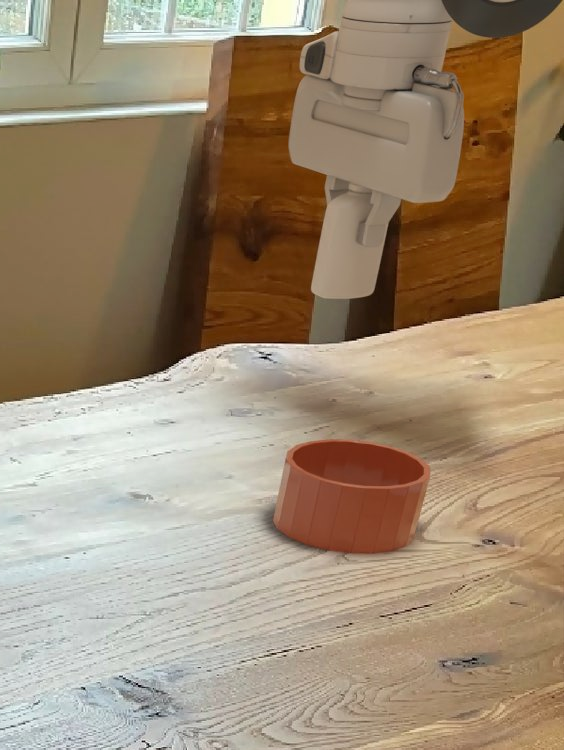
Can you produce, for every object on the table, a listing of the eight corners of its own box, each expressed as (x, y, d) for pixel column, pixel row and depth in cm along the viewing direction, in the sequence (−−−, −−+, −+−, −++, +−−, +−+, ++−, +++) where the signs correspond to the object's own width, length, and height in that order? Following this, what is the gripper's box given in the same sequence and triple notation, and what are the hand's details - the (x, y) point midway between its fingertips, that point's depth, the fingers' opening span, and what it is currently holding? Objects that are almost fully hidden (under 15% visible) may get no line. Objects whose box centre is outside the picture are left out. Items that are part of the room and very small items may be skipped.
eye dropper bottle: (310, 286, 137) (337, 140, 129) (372, 290, 136) (404, 143, 128) (309, 298, 133) (337, 149, 126) (373, 302, 132) (405, 152, 125)
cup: (357, 513, 121) (376, 433, 117) (436, 563, 113) (460, 480, 109) (244, 527, 118) (260, 446, 114) (317, 579, 110) (336, 494, 106)
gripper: (500, 74, 116) (454, 263, 125) (352, 44, 131) (320, 214, 140) (432, 77, 115) (391, 268, 123) (290, 46, 130) (262, 218, 138)
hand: (352, 239), depth 132 cm, fingers closed on eye dropper bottle, 3 cm apart
